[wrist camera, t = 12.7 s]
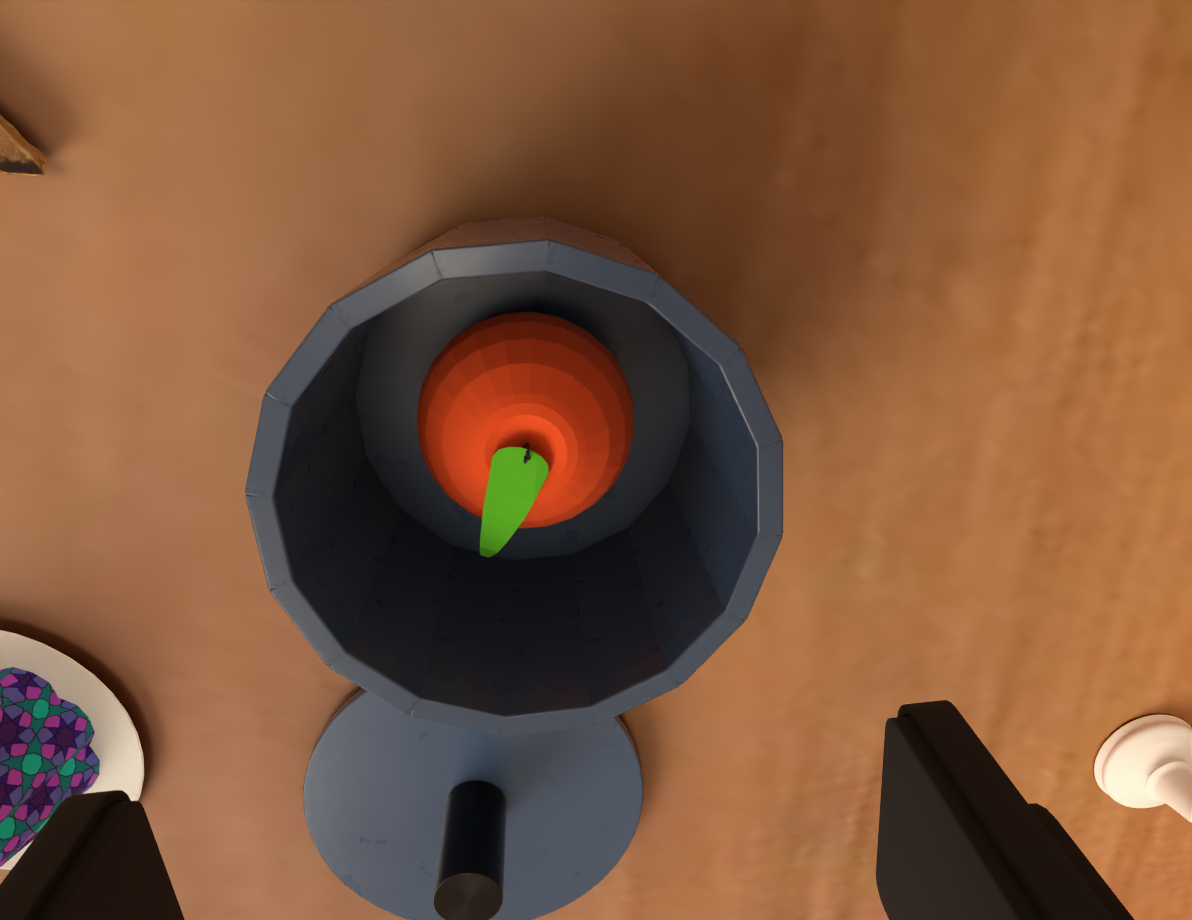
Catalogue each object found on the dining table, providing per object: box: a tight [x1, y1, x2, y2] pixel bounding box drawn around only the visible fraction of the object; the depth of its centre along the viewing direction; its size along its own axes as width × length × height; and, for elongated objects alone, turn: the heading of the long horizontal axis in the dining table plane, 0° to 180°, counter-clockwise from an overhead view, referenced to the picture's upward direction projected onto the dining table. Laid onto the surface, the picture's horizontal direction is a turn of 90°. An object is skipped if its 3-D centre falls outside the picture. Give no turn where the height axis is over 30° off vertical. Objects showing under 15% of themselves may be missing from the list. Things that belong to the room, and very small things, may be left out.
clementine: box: [417, 311, 634, 557], centre depth 26 cm, size 8×7×7 cm
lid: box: [303, 688, 643, 920], centre depth 33 cm, size 14×14×6 cm
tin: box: [245, 216, 783, 737], centre depth 25 cm, size 13×13×10 cm
